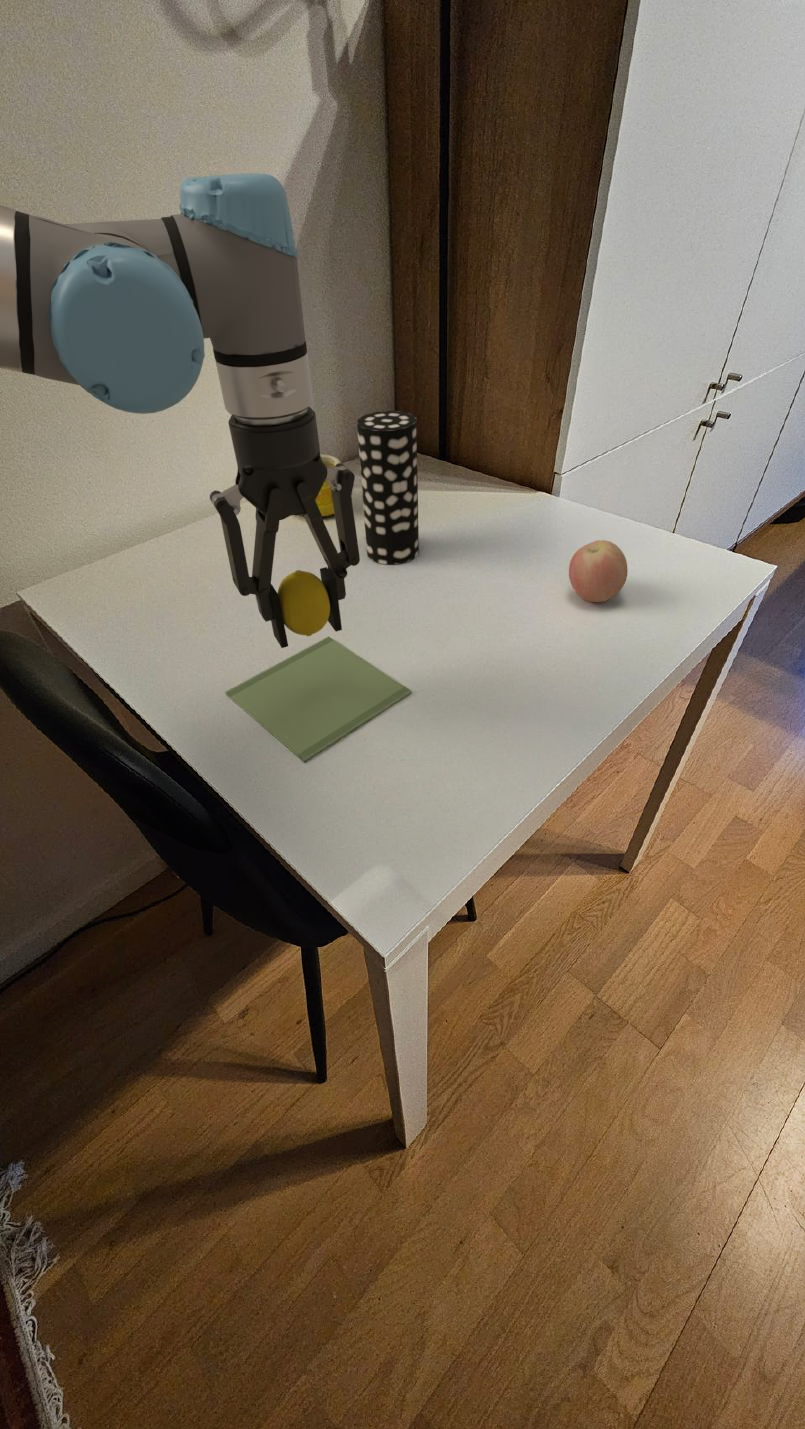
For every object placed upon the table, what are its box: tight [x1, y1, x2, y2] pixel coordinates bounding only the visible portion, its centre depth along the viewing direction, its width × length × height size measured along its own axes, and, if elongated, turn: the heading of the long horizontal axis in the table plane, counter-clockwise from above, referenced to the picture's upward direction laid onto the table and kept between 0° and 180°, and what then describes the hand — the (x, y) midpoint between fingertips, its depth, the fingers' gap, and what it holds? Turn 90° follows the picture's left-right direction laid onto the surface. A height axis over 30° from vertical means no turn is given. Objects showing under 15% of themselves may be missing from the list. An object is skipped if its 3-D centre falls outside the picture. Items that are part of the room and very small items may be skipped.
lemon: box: [277, 569, 330, 637], centre depth 67 cm, size 6×6×8 cm
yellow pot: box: [315, 453, 343, 518], centre depth 110 cm, size 13×11×12 cm
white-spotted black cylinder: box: [356, 410, 420, 565], centre depth 94 cm, size 8×8×20 cm
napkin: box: [224, 636, 412, 763], centre depth 76 cm, size 16×16×1 cm
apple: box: [568, 539, 629, 603], centre depth 87 cm, size 8×8×8 cm
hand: (308, 632), depth 70 cm, fingers closed on lemon, 6 cm apart
